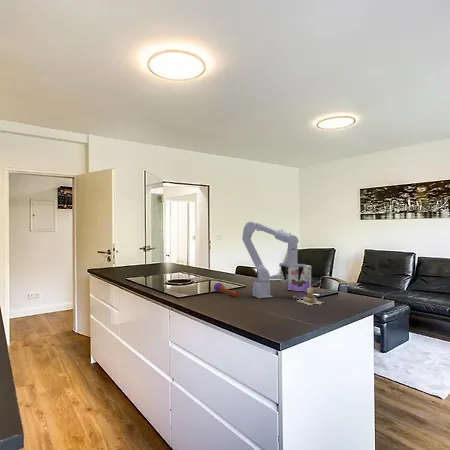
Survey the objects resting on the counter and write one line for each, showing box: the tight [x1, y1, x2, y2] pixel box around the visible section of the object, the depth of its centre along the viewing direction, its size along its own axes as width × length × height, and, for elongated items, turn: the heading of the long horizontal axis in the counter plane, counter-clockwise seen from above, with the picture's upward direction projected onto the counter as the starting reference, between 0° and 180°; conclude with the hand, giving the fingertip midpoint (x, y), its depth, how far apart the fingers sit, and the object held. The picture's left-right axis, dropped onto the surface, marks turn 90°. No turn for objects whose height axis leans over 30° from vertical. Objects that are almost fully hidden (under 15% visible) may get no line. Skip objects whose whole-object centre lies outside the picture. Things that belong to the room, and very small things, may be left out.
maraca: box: [213, 282, 240, 298], centre depth 190 cm, size 6×6×20 cm
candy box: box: [287, 264, 312, 293], centre depth 203 cm, size 14×6×16 cm, turn 62°
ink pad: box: [292, 294, 307, 300], centre depth 182 cm, size 8×6×2 cm
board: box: [296, 299, 324, 306], centre depth 171 cm, size 10×10×1 cm
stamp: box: [303, 287, 318, 303], centre depth 171 cm, size 5×5×7 cm
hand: (292, 280), depth 184 cm, fingers open, 7 cm apart
